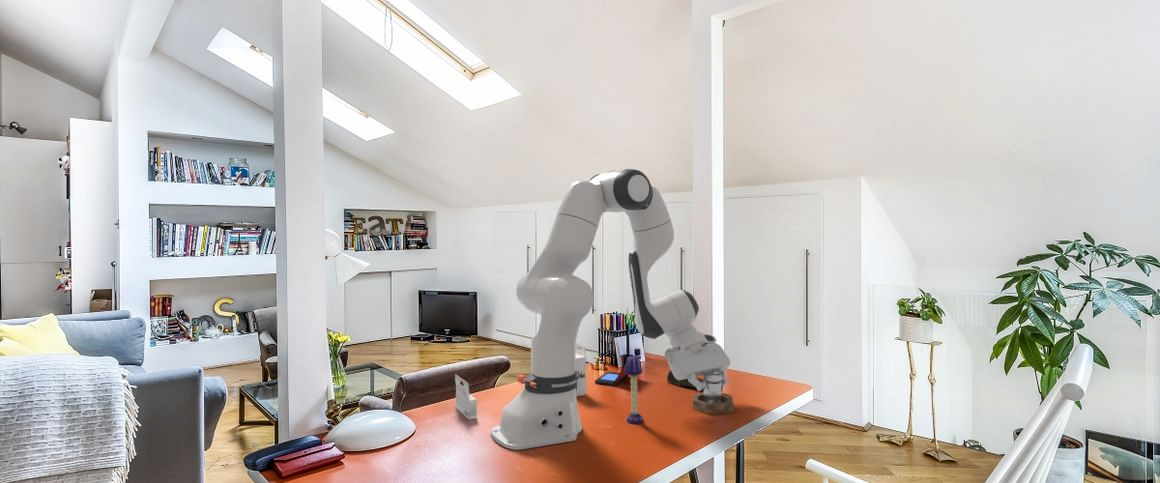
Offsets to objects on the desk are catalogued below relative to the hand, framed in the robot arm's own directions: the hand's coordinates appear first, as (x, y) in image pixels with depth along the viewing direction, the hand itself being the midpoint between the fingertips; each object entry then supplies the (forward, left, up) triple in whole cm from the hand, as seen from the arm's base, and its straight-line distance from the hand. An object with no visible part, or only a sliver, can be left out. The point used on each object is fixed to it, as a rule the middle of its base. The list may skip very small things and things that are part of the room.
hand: (714, 386), depth 145 cm
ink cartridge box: (-59, +35, -6) cm, 69 cm away
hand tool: (+8, +16, -6) cm, 19 cm away
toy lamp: (-25, +5, -6) cm, 26 cm away
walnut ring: (0, +1, -6) cm, 6 cm away
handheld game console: (-6, +36, -6) cm, 37 cm away
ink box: (-25, +34, -6) cm, 42 cm away
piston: (0, +1, -6) cm, 6 cm away
